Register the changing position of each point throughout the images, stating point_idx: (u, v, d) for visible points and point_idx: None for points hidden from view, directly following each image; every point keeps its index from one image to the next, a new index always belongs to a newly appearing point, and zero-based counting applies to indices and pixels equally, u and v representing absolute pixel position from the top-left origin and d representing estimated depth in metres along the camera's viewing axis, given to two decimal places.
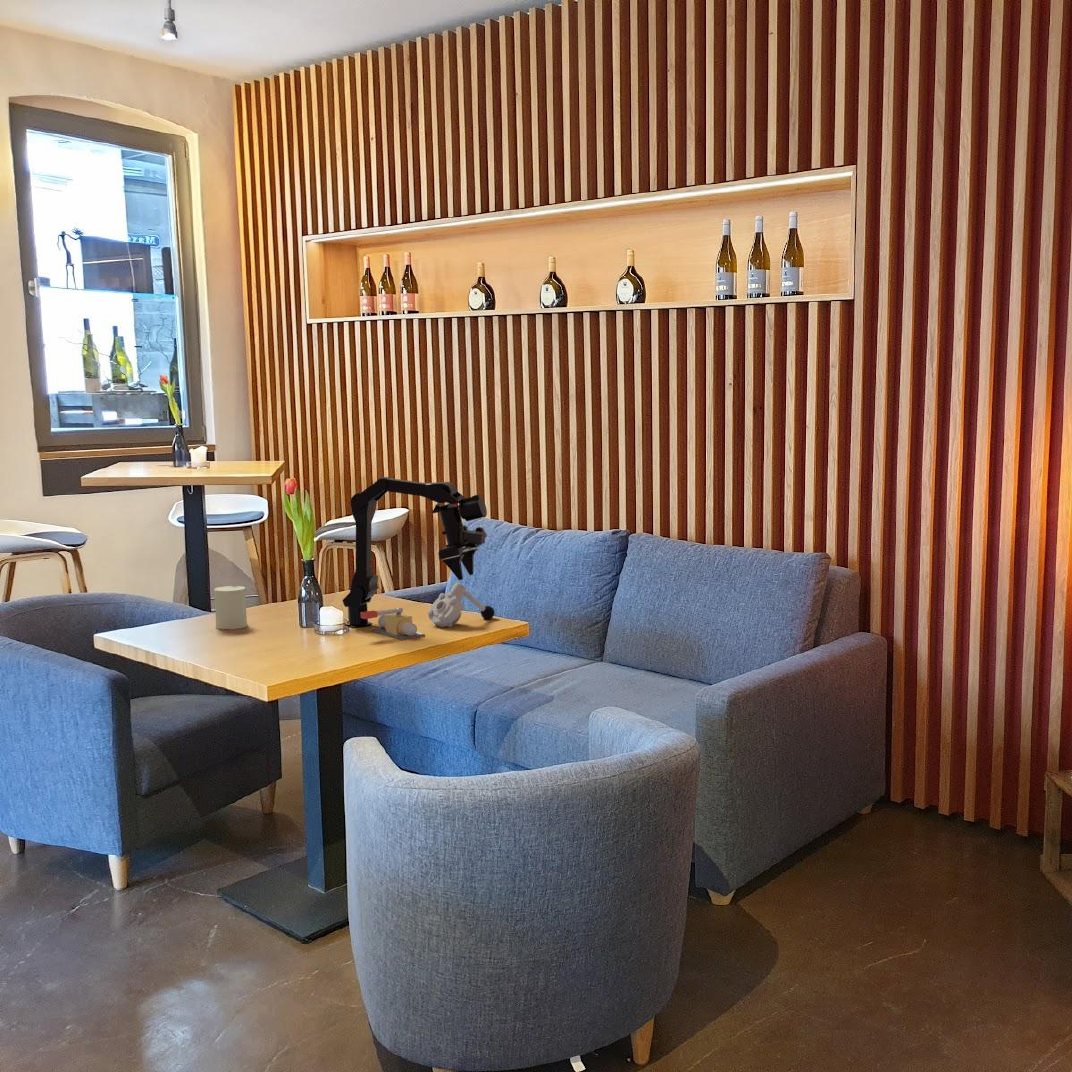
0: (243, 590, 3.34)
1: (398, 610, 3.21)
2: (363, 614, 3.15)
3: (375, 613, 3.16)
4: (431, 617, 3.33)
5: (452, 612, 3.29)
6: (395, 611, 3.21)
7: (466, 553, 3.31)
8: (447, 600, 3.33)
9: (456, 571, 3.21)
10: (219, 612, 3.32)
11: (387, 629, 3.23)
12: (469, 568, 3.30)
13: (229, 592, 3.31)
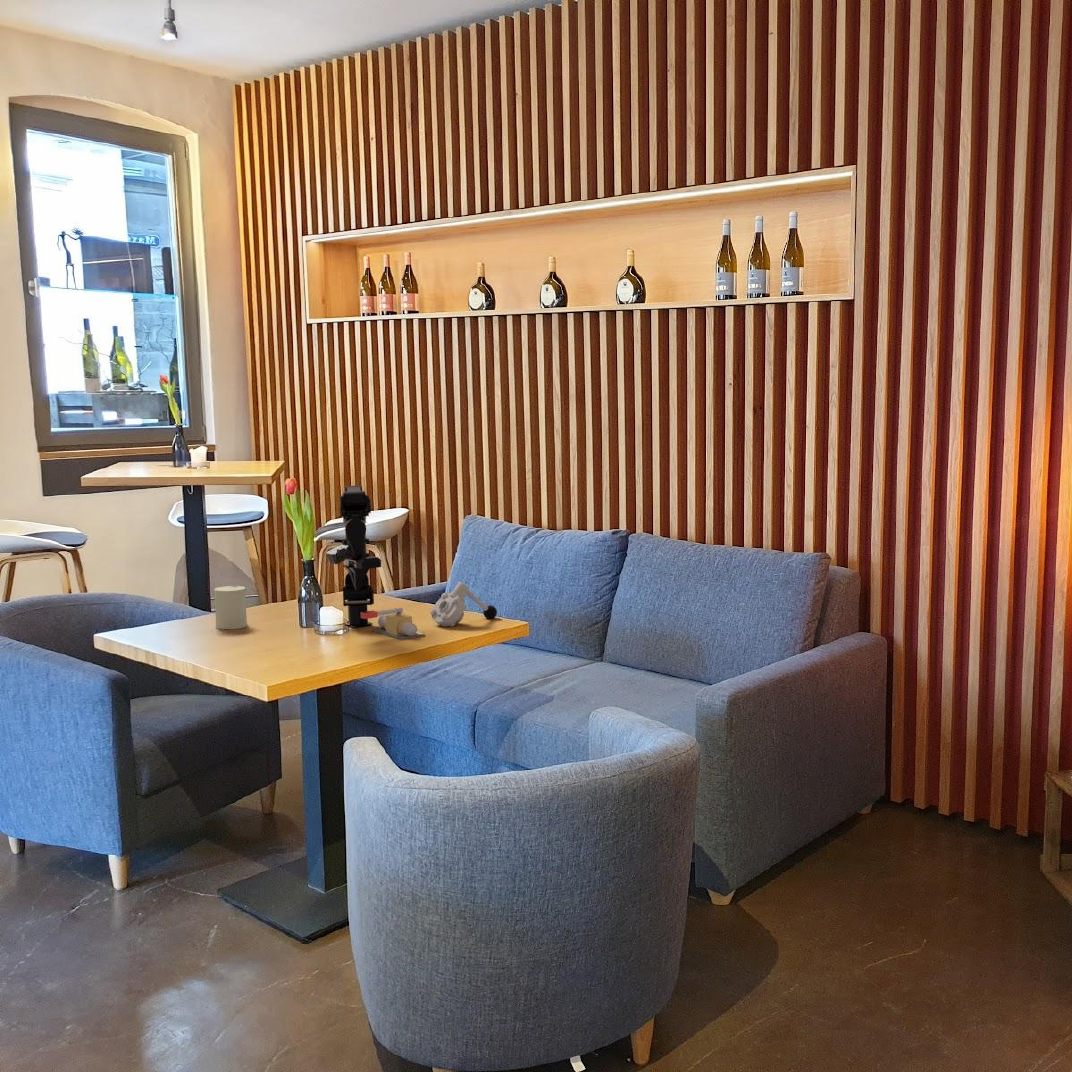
0: (243, 590, 3.34)
1: (398, 610, 3.21)
2: (363, 614, 3.15)
3: (375, 613, 3.16)
4: (434, 617, 3.34)
5: (455, 612, 3.30)
6: (395, 611, 3.21)
7: None
8: (450, 600, 3.33)
9: None
10: (219, 612, 3.32)
11: (387, 629, 3.23)
12: None
13: (229, 592, 3.31)
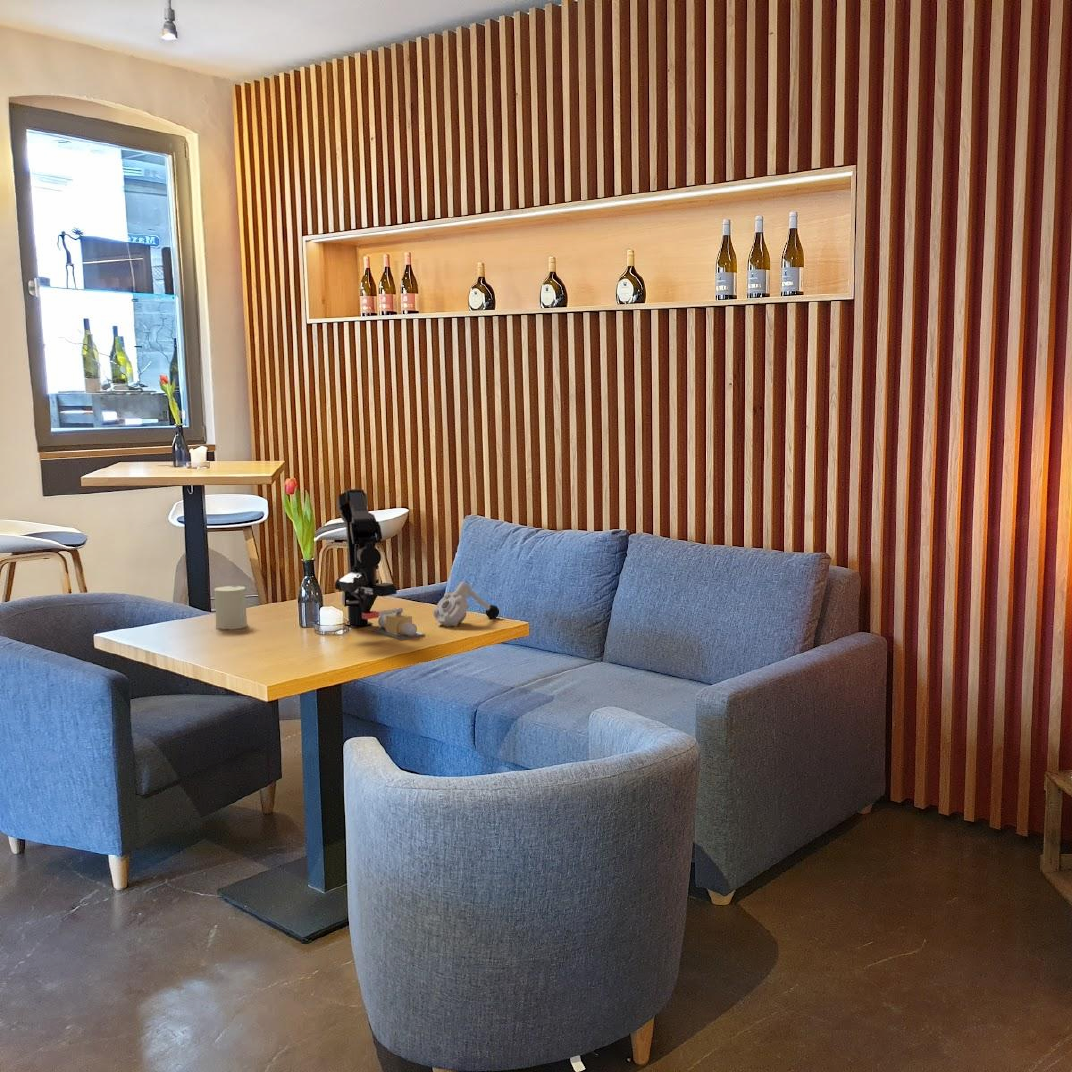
0: (243, 590, 3.34)
1: (398, 610, 3.21)
2: (364, 614, 3.14)
3: (376, 613, 3.16)
4: (436, 616, 3.34)
5: (457, 611, 3.30)
6: (395, 611, 3.21)
7: None
8: (452, 599, 3.34)
9: None
10: (219, 612, 3.32)
11: (387, 629, 3.23)
12: None
13: (229, 592, 3.31)
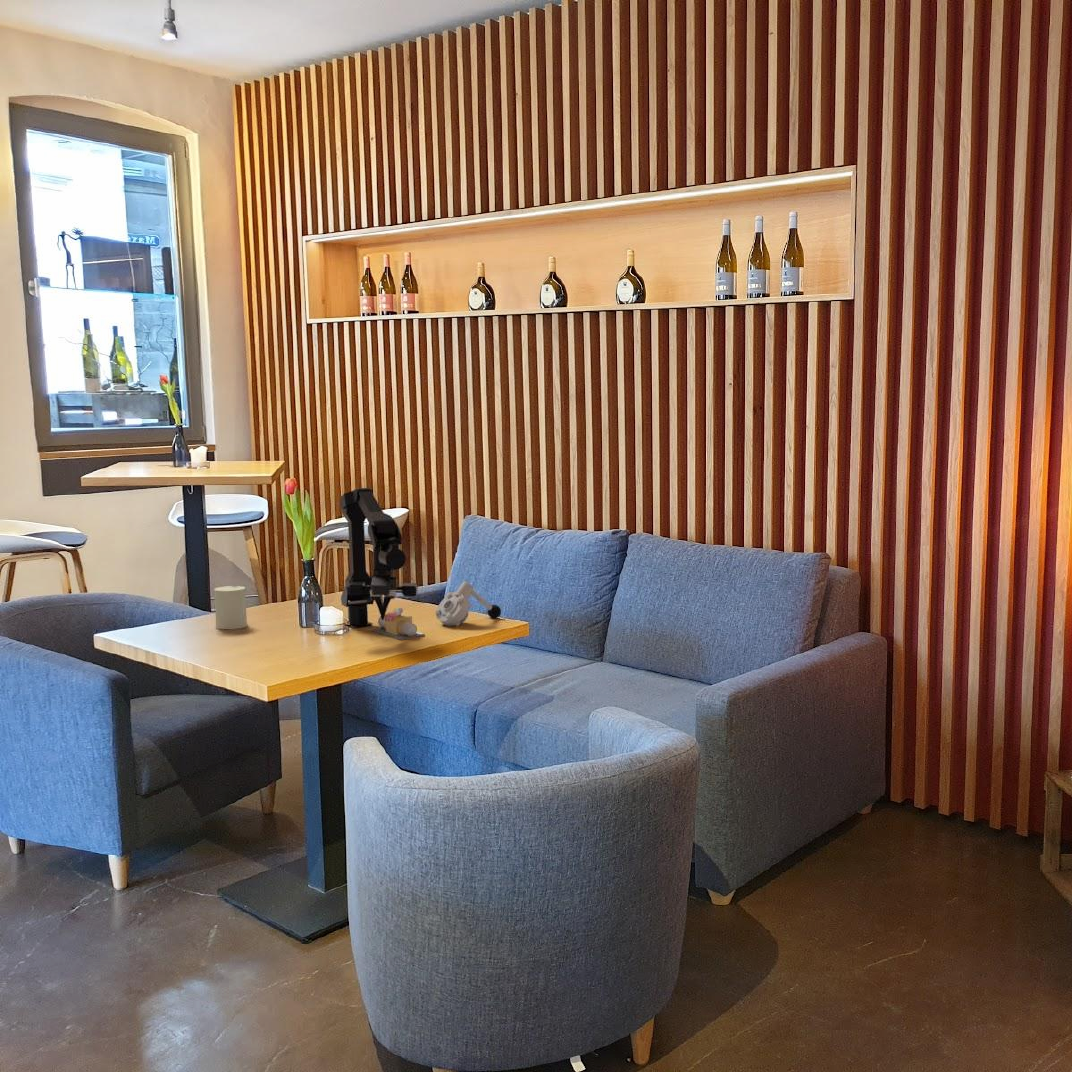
0: (243, 590, 3.34)
1: (401, 610, 3.21)
2: (390, 617, 3.11)
3: (395, 614, 3.14)
4: (439, 616, 3.35)
5: (460, 611, 3.31)
6: (400, 611, 3.21)
7: None
8: (454, 599, 3.34)
9: None
10: (219, 612, 3.32)
11: (387, 629, 3.23)
12: None
13: (229, 592, 3.31)
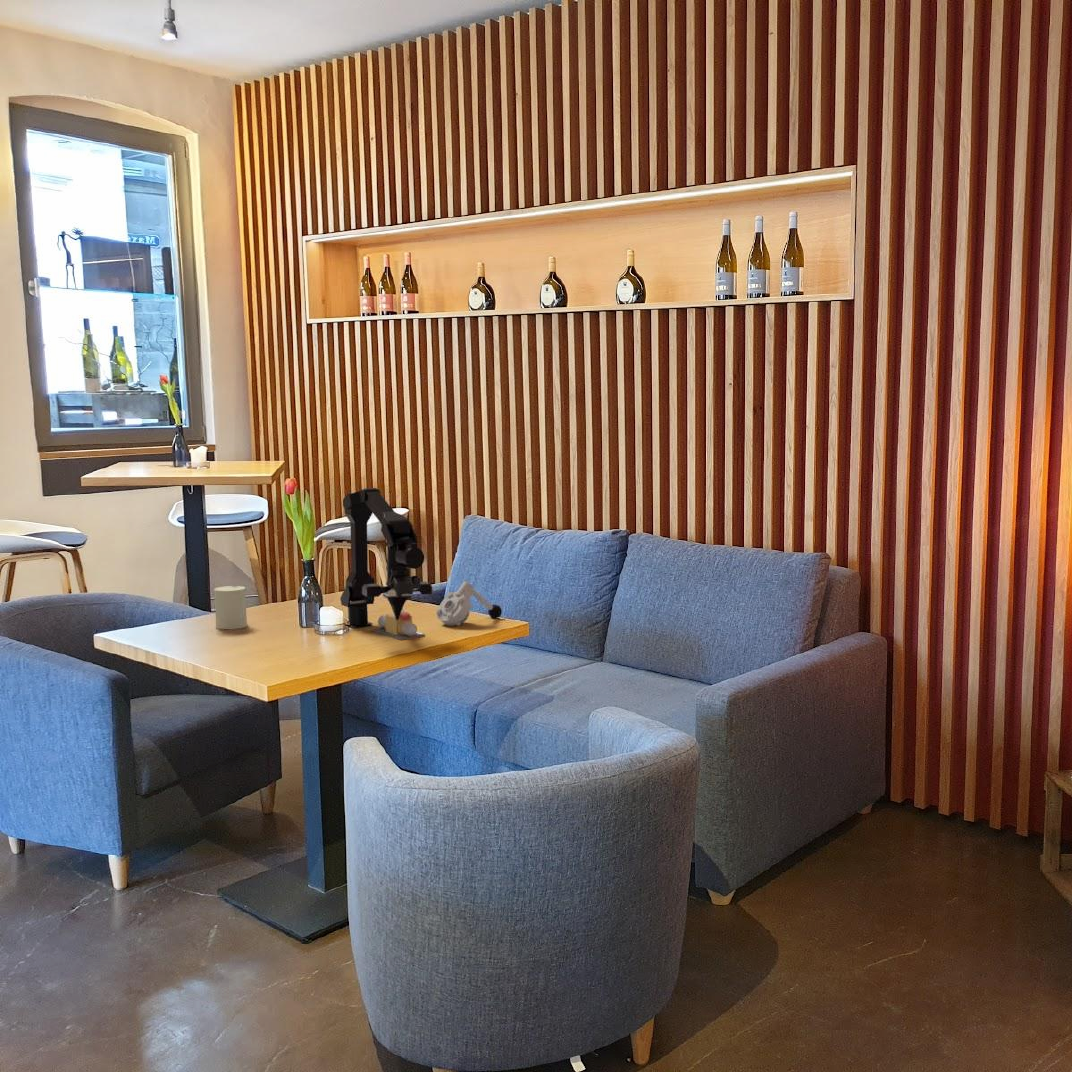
0: (243, 590, 3.34)
1: (402, 609, 3.22)
2: (407, 616, 3.11)
3: None
4: (439, 616, 3.35)
5: (461, 611, 3.31)
6: None
7: (398, 596, 3.12)
8: (455, 599, 3.34)
9: (394, 610, 3.13)
10: (219, 612, 3.32)
11: (387, 629, 3.23)
12: None
13: (229, 592, 3.31)
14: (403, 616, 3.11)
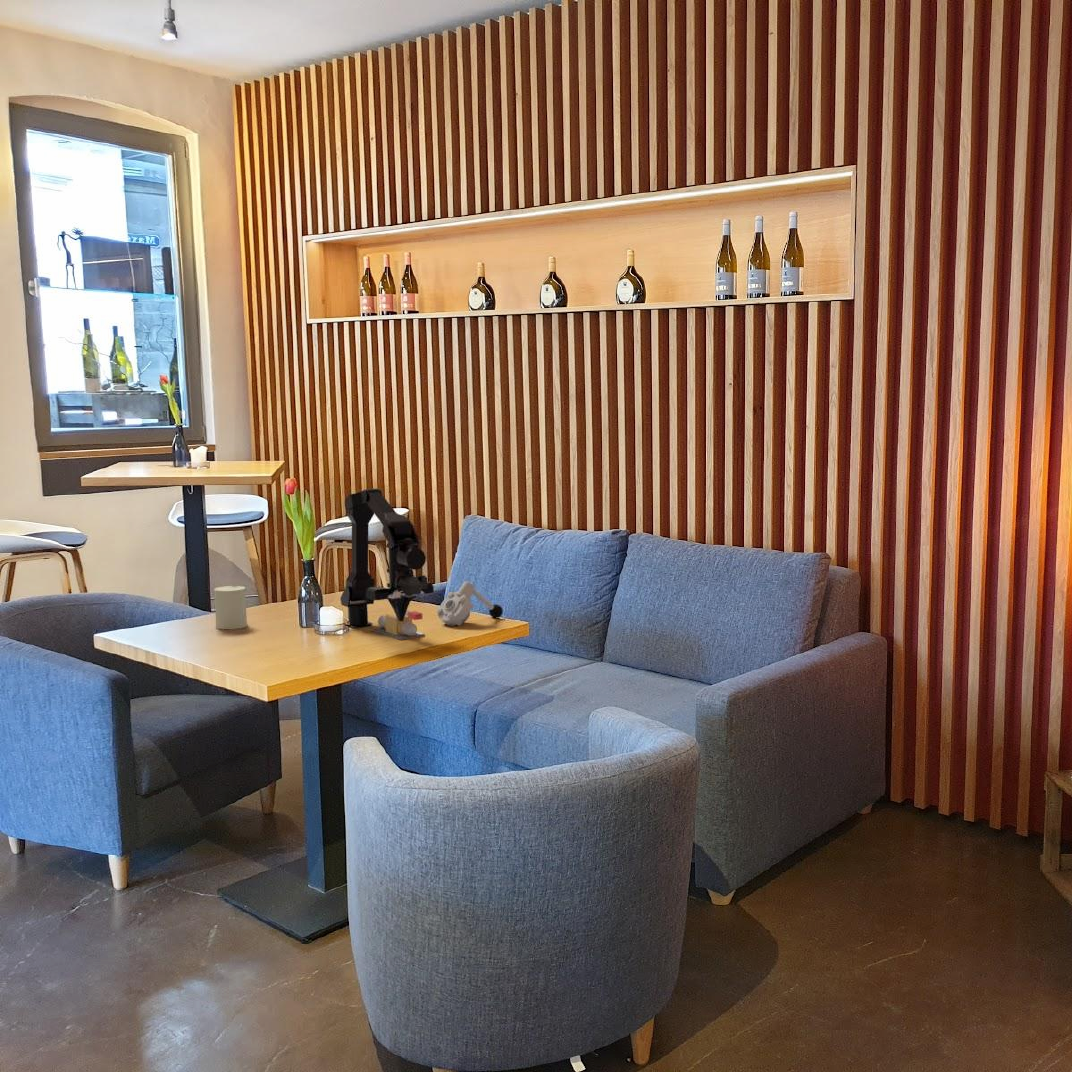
0: (243, 590, 3.34)
1: None
2: (419, 615, 3.13)
3: None
4: (440, 616, 3.35)
5: (461, 611, 3.31)
6: None
7: (402, 597, 3.12)
8: (456, 599, 3.34)
9: (396, 612, 3.11)
10: (219, 612, 3.32)
11: (387, 629, 3.23)
12: None
13: (229, 592, 3.31)
14: (416, 615, 3.12)
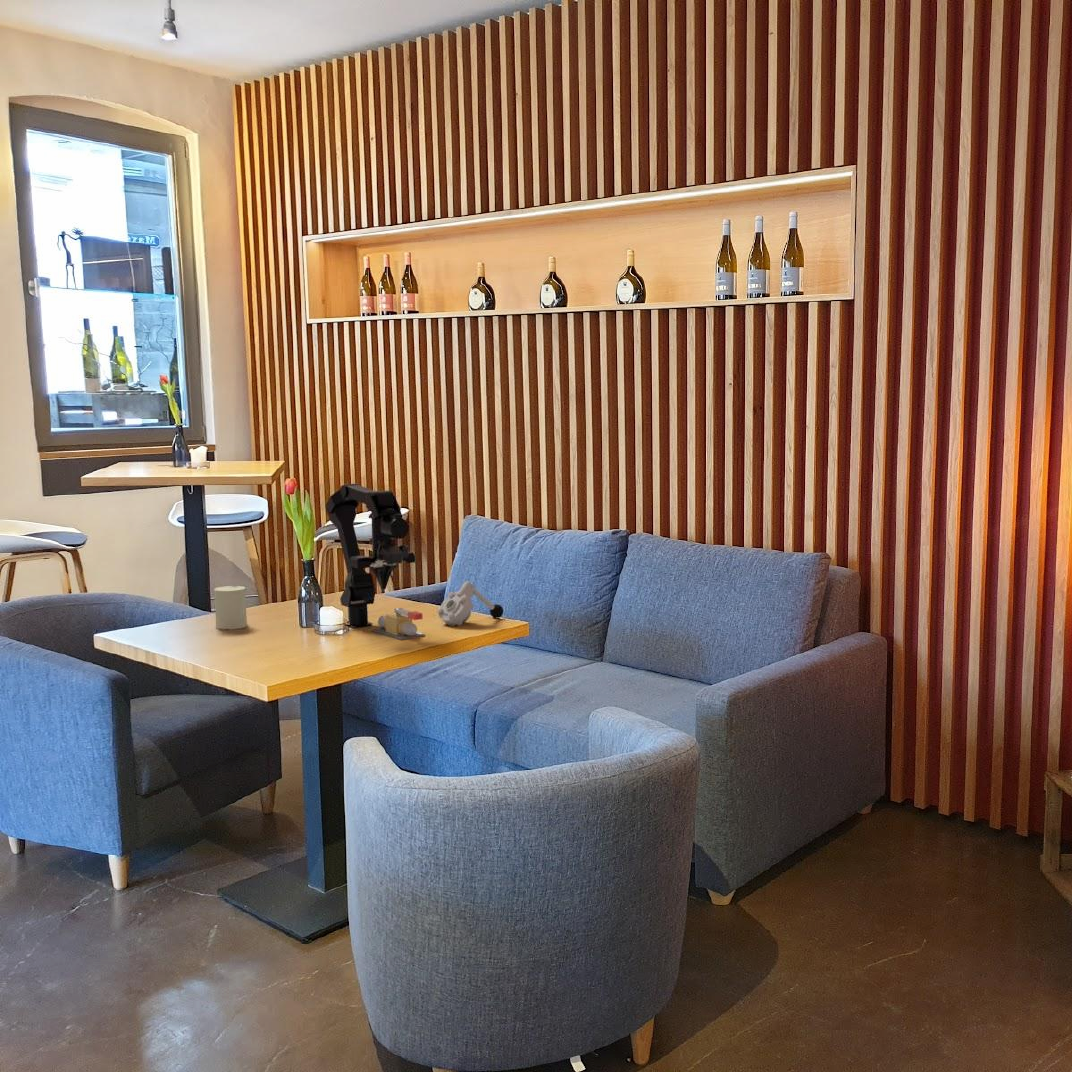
0: (243, 590, 3.34)
1: None
2: (419, 615, 3.13)
3: None
4: (441, 616, 3.35)
5: (462, 611, 3.31)
6: None
7: (384, 566, 3.22)
8: (457, 599, 3.35)
9: (379, 580, 3.21)
10: (219, 612, 3.32)
11: (387, 629, 3.23)
12: None
13: (229, 592, 3.31)
14: (416, 615, 3.12)
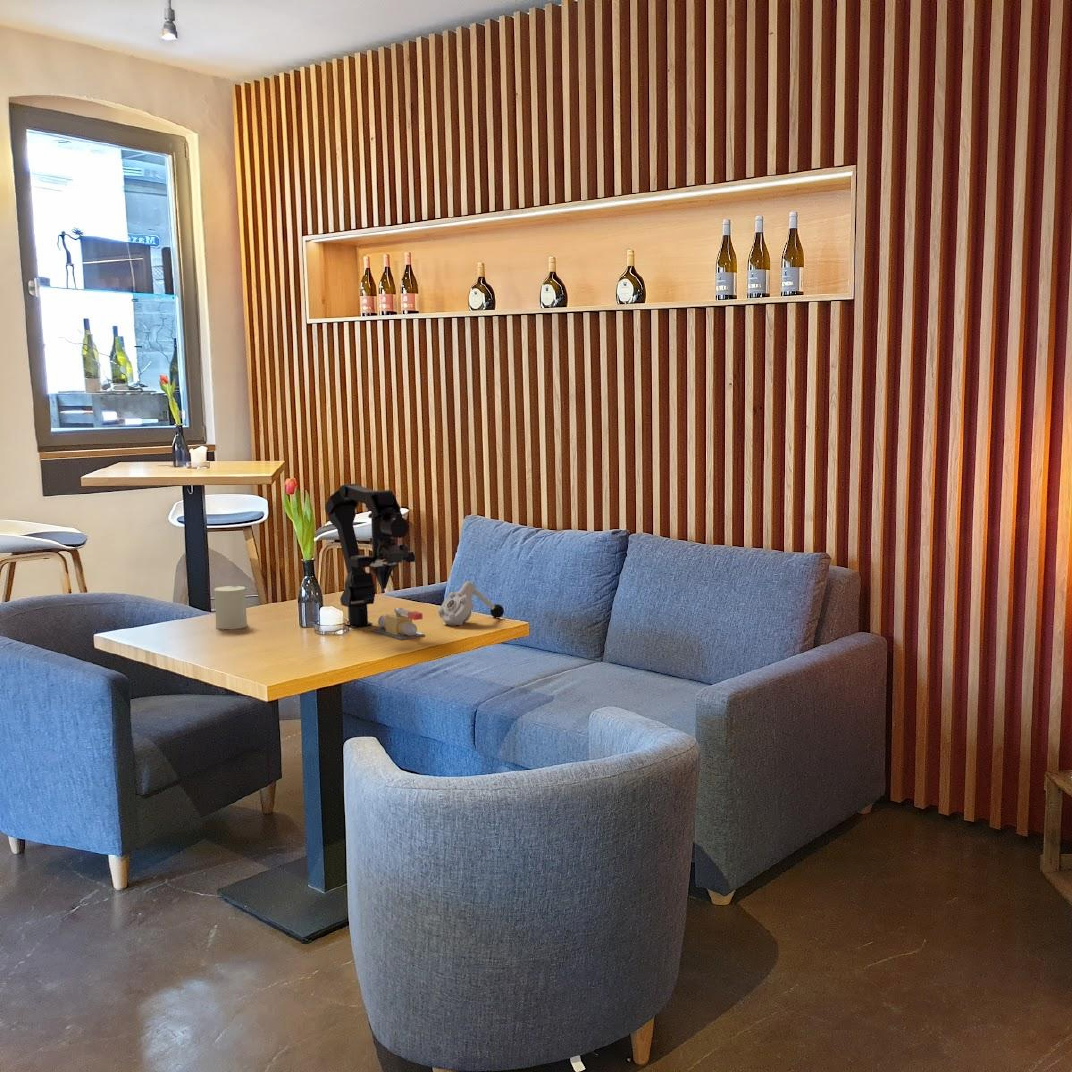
0: (243, 590, 3.34)
1: None
2: (419, 615, 3.13)
3: None
4: (441, 616, 3.35)
5: (463, 610, 3.31)
6: None
7: (384, 566, 3.22)
8: (457, 599, 3.35)
9: (379, 580, 3.21)
10: (219, 612, 3.32)
11: (387, 629, 3.23)
12: None
13: (229, 592, 3.31)
14: (416, 615, 3.12)
